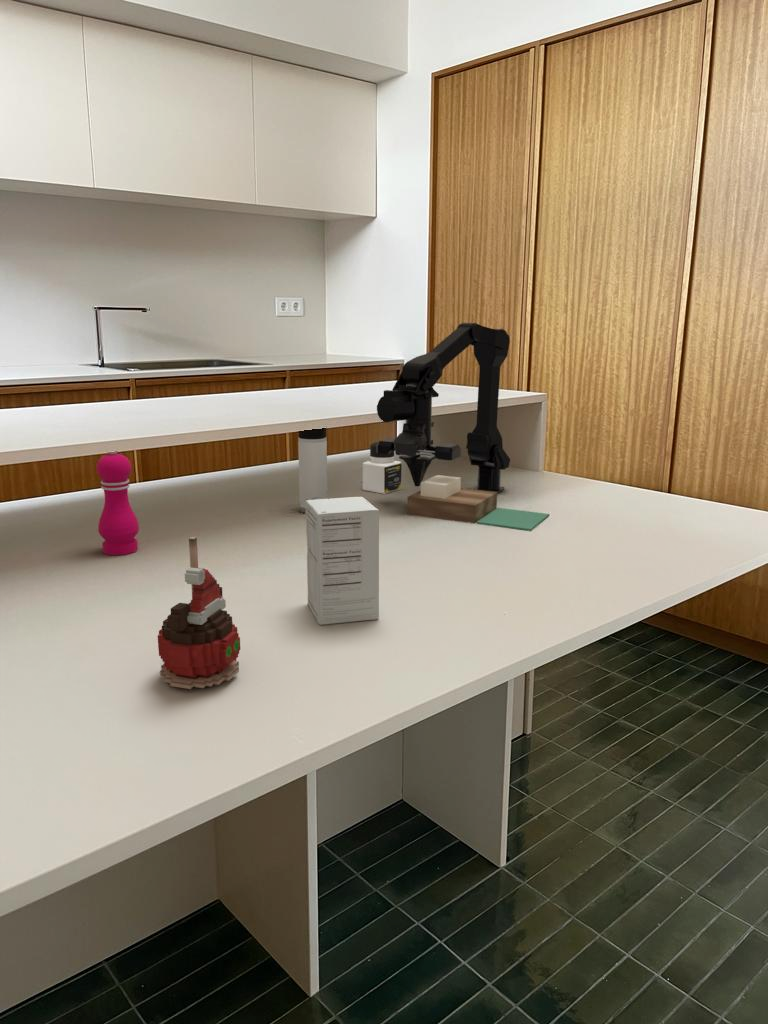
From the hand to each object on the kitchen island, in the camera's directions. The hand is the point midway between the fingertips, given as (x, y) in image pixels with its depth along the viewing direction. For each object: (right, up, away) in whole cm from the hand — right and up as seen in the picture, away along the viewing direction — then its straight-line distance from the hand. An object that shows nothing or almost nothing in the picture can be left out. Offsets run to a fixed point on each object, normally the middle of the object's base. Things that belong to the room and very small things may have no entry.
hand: (417, 486), depth 182 cm
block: (+5, -2, -2) cm, 6 cm away
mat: (+21, -8, -9) cm, 24 cm away
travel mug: (-23, -6, -3) cm, 24 cm away
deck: (+8, -6, -3) cm, 10 cm away
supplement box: (-14, -21, -61) cm, 66 cm away
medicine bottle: (-8, -1, +18) cm, 20 cm away
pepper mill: (-57, -13, -33) cm, 67 cm away
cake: (-31, -27, -83) cm, 92 cm away
